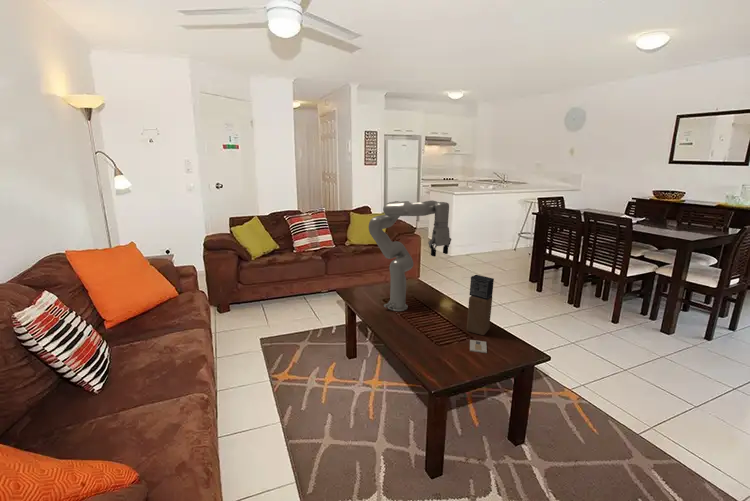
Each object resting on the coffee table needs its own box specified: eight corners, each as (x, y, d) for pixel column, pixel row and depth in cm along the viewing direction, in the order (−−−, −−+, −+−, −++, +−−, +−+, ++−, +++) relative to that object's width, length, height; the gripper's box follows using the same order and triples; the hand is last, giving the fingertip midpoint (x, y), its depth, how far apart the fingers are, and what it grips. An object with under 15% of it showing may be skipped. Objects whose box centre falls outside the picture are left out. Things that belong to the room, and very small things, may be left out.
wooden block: (484, 336, 204) (487, 300, 199) (465, 331, 209) (468, 296, 204) (489, 329, 212) (492, 295, 207) (472, 325, 217) (474, 291, 212)
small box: (492, 297, 204) (494, 278, 202) (487, 300, 200) (489, 281, 197) (474, 292, 211) (476, 273, 209) (468, 295, 207) (470, 276, 204)
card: (469, 351, 188) (469, 349, 188) (469, 340, 198) (470, 339, 198) (486, 353, 186) (486, 351, 186) (486, 342, 196) (486, 341, 196)
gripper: (435, 227, 204) (433, 258, 208) (456, 224, 214) (454, 254, 218) (425, 225, 210) (423, 255, 214) (446, 222, 220) (444, 251, 224)
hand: (439, 254), depth 216 cm, fingers open, 9 cm apart
